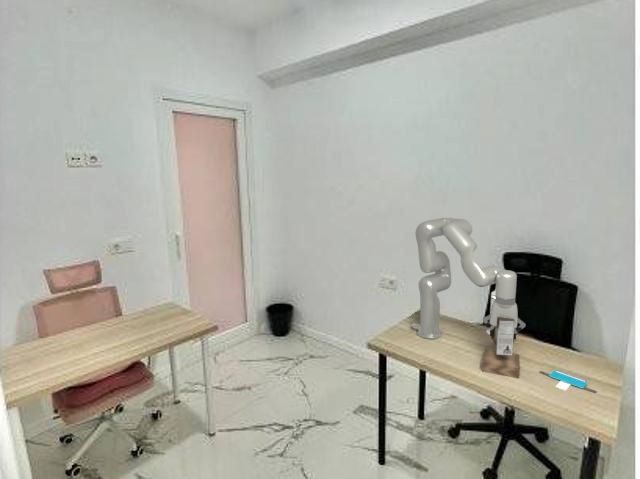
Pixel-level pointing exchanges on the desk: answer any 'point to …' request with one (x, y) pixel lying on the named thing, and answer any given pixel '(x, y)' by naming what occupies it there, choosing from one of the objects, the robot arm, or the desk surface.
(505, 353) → the coffee box
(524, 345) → the desk surface
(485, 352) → the walnut block
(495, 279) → the robot arm
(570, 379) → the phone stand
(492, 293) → the candle
